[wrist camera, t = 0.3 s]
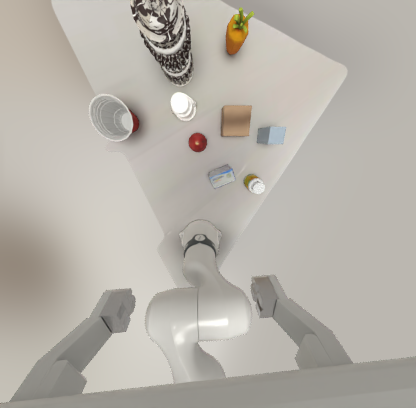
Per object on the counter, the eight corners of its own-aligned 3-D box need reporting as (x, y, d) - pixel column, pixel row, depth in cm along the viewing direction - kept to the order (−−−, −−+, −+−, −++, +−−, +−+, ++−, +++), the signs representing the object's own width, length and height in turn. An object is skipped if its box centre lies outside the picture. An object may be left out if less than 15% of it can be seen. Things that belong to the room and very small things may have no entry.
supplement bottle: (243, 174, 58) (251, 181, 49) (257, 173, 58) (267, 179, 49) (243, 188, 61) (250, 196, 52) (257, 186, 61) (266, 195, 52)
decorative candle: (187, 94, 47) (174, 54, 25) (159, 78, 46) (115, 19, 23) (199, 60, 44) (197, -22, 21) (169, 41, 42) (130, -71, 20)
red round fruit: (205, 132, 52) (205, 131, 45) (207, 150, 54) (208, 152, 47) (188, 134, 52) (186, 133, 45) (191, 151, 54) (189, 154, 47)
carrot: (241, 44, 43) (259, 0, 29) (235, 65, 45) (250, 34, 31) (224, 37, 42) (235, -10, 29) (219, 60, 44) (227, 25, 31)
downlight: (193, 91, 47) (189, 81, 38) (200, 116, 50) (198, 112, 41) (169, 100, 48) (160, 92, 39) (177, 124, 51) (170, 122, 42)
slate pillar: (269, 142, 54) (283, 144, 45) (256, 142, 54) (267, 144, 45) (271, 128, 52) (286, 126, 43) (258, 128, 52) (270, 126, 43)
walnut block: (243, 136, 53) (248, 135, 48) (220, 135, 53) (223, 135, 47) (246, 109, 50) (251, 105, 44) (221, 108, 50) (224, 105, 44)
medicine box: (212, 182, 59) (214, 189, 51) (208, 172, 58) (209, 177, 50) (231, 174, 58) (236, 180, 50) (227, 163, 57) (232, 168, 49)
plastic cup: (121, 143, 52) (99, 145, 41) (107, 107, 48) (79, 98, 37) (151, 137, 52) (138, 137, 41) (140, 100, 48) (122, 89, 37)
